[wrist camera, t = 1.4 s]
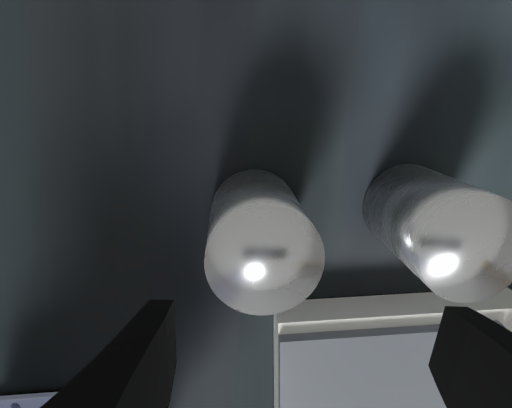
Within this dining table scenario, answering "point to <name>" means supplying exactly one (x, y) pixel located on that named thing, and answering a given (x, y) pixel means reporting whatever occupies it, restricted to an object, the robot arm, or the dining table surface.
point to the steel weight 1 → (261, 245)
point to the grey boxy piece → (365, 350)
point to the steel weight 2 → (443, 231)
